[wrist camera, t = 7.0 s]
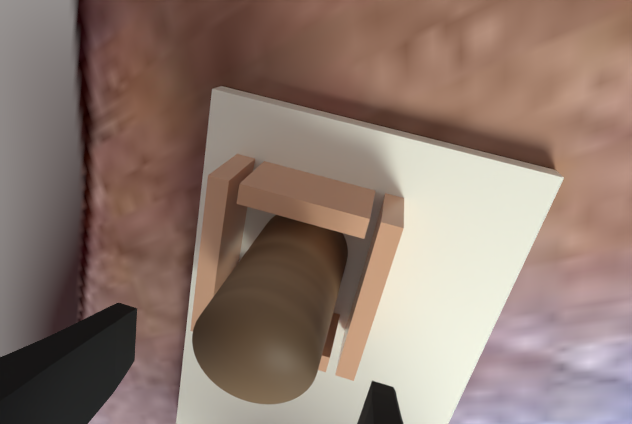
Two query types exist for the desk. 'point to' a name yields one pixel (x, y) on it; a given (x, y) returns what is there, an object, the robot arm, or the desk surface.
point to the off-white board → (408, 264)
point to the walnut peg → (273, 313)
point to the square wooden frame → (306, 206)
